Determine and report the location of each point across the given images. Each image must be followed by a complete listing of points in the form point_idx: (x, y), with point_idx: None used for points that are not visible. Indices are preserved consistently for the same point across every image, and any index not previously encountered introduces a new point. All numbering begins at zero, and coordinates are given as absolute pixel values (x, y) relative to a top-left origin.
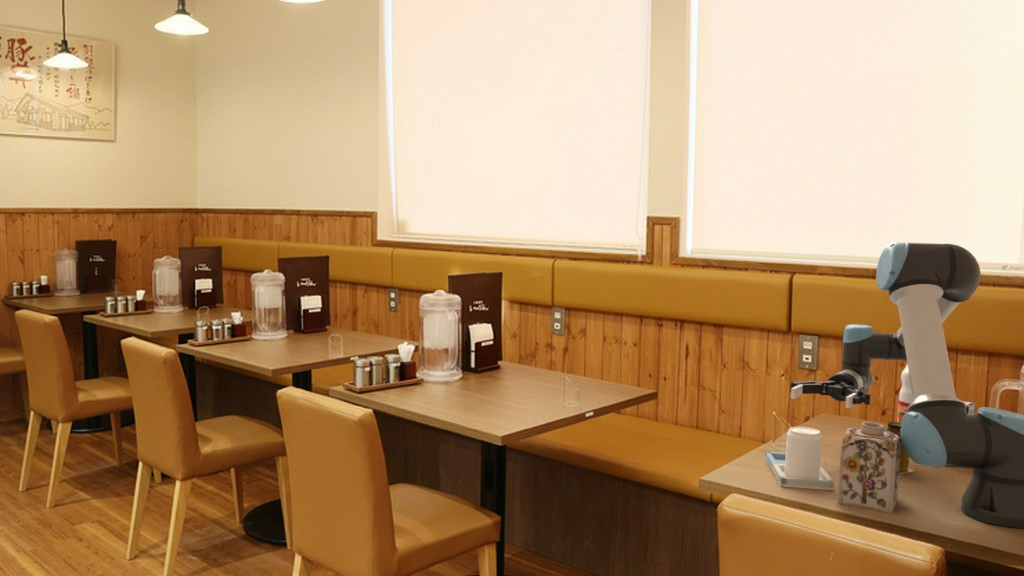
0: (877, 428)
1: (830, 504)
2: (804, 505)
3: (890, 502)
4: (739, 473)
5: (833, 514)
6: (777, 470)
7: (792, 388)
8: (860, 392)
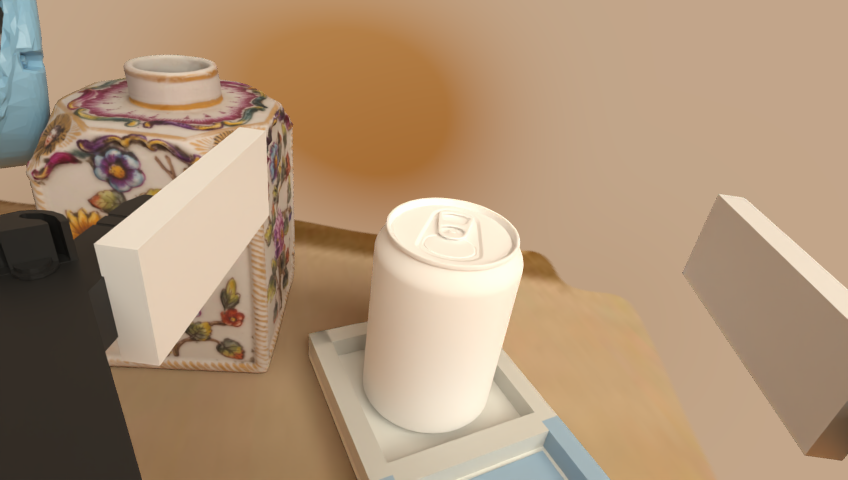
0: (162, 58)
1: (310, 266)
2: (367, 244)
3: None
4: (611, 368)
5: (301, 227)
6: (505, 355)
7: (737, 198)
8: (32, 222)
